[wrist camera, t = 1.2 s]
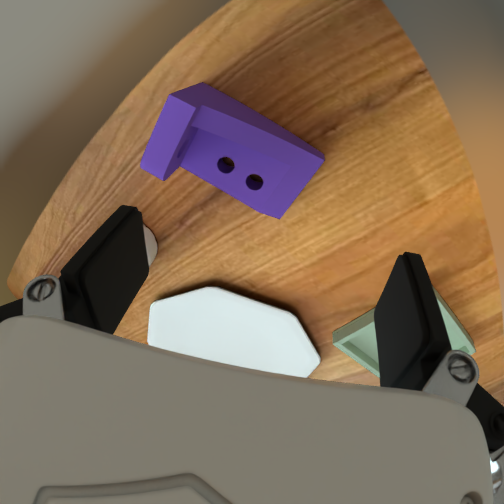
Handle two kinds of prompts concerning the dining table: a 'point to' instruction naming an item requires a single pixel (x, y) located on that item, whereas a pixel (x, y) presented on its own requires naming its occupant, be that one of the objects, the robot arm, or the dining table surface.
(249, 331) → the plate
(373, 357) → the shallow tray
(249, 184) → the bracket
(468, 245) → the dining table surface
